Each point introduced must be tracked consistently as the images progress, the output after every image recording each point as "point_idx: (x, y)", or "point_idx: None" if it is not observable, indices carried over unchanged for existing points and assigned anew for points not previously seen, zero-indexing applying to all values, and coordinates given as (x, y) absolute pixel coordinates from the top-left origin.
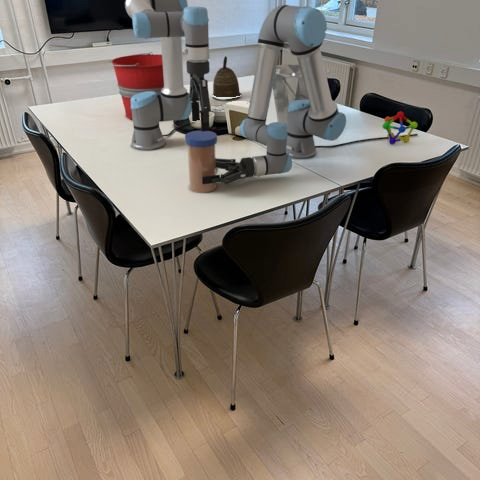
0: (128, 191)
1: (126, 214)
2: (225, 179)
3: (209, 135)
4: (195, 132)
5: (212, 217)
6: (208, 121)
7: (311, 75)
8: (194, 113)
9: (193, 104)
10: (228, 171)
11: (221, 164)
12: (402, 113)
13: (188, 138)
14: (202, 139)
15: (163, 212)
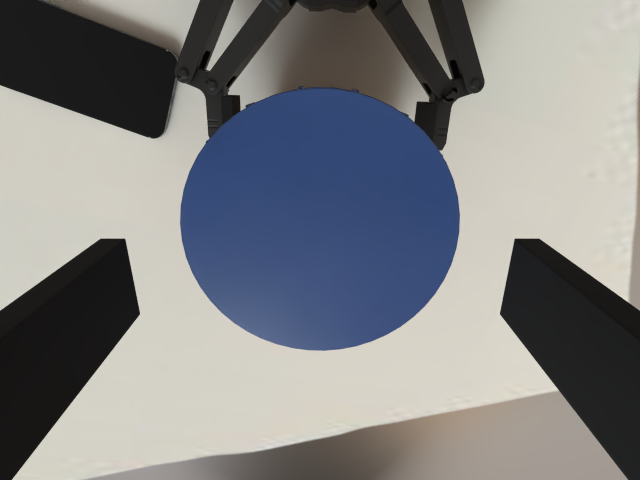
0: (273, 395)
1: (427, 414)
2: (481, 85)
3: (346, 166)
4: (229, 260)
5: (582, 189)
6: (606, 299)
7: None
8: (93, 342)
9: (2, 453)
10: (400, 35)
11: (263, 36)
12: None
13: (358, 338)
14: (423, 250)
15: (464, 327)
